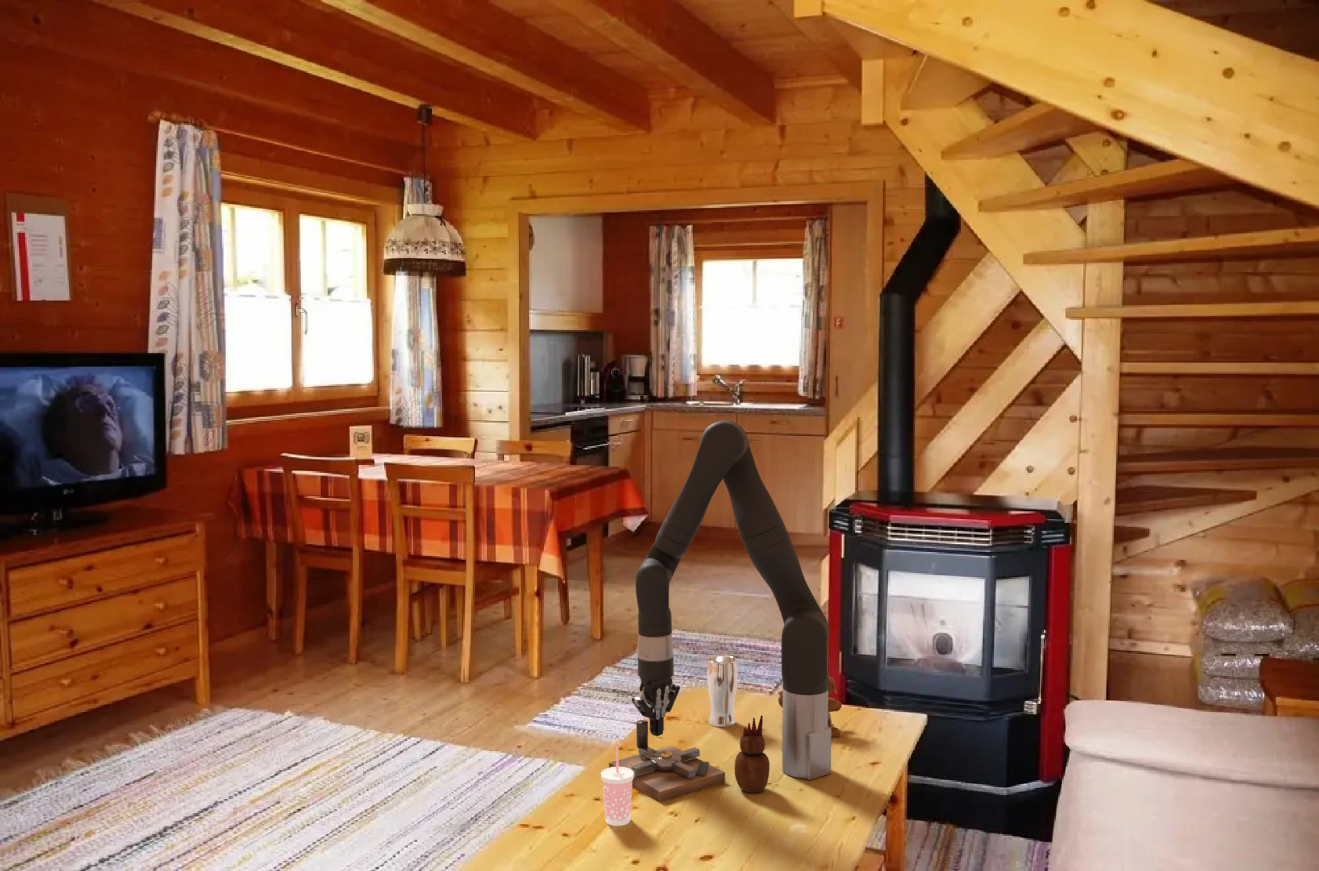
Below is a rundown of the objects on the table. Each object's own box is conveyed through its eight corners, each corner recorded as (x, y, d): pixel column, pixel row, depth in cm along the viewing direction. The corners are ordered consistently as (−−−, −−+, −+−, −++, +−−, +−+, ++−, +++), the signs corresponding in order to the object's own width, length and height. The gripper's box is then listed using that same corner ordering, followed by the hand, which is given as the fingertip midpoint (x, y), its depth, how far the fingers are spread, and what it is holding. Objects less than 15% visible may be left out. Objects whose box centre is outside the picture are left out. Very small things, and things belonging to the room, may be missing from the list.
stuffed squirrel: (844, 738, 242) (844, 680, 241) (780, 738, 242) (781, 680, 241) (837, 722, 252) (837, 667, 250) (776, 722, 252) (776, 667, 251)
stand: (726, 781, 218) (726, 770, 218) (659, 802, 208) (659, 790, 208) (673, 754, 232) (673, 743, 232) (608, 772, 223) (607, 761, 223)
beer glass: (738, 728, 248) (738, 663, 247) (707, 728, 248) (707, 663, 247) (736, 717, 255) (736, 655, 254) (706, 717, 255) (706, 655, 254)
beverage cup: (602, 813, 203) (601, 740, 202) (635, 813, 203) (634, 740, 202) (599, 827, 197) (599, 752, 196) (633, 827, 197) (632, 752, 196)
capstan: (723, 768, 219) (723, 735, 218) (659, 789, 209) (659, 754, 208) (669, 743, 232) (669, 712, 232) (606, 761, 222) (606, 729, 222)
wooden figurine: (773, 787, 215) (773, 713, 214) (763, 798, 210) (763, 722, 209) (741, 781, 218) (741, 708, 217) (730, 792, 213) (730, 717, 211)
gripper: (646, 665, 219) (648, 748, 221) (689, 650, 229) (691, 730, 231) (620, 658, 225) (622, 739, 226) (663, 644, 234) (665, 722, 236)
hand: (657, 734), depth 228 cm, fingers closed
